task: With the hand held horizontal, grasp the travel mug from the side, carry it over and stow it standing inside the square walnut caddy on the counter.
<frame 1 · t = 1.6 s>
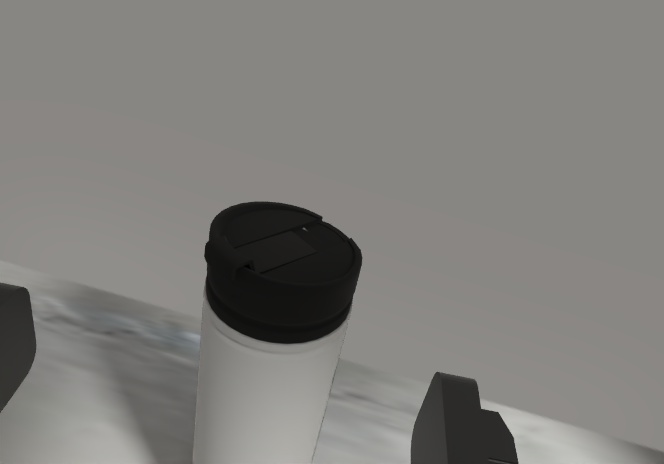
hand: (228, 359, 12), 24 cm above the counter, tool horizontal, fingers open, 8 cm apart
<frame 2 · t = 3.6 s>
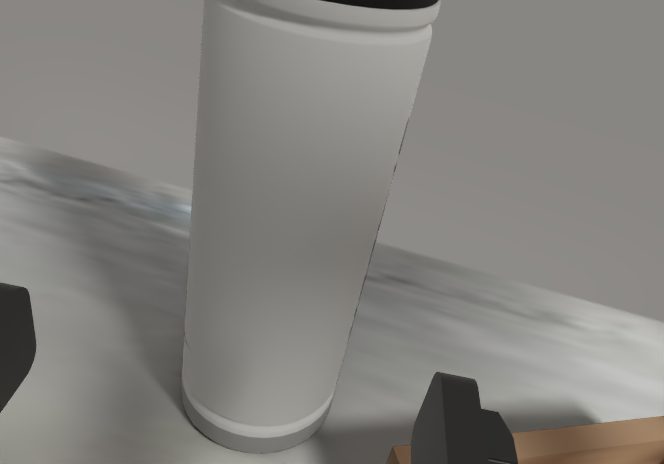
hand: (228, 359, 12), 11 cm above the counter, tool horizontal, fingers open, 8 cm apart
travel mug: (253, 397, 25), on the counter
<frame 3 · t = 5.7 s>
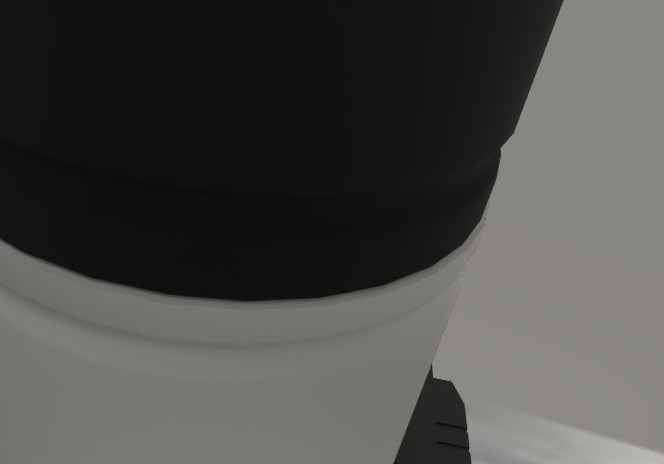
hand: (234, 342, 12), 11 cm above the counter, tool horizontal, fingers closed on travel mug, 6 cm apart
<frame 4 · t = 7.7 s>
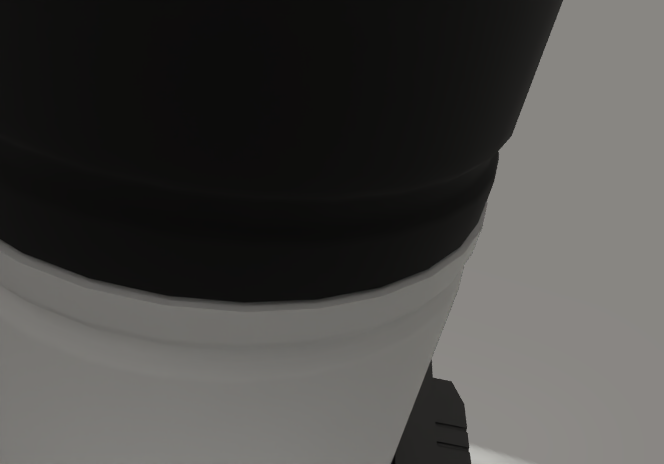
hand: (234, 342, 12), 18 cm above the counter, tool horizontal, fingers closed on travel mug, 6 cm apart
when the fingers open (13 cm above the counter, at t = 9.6 s): travel mug stays where it is, resting on walnut caddy.
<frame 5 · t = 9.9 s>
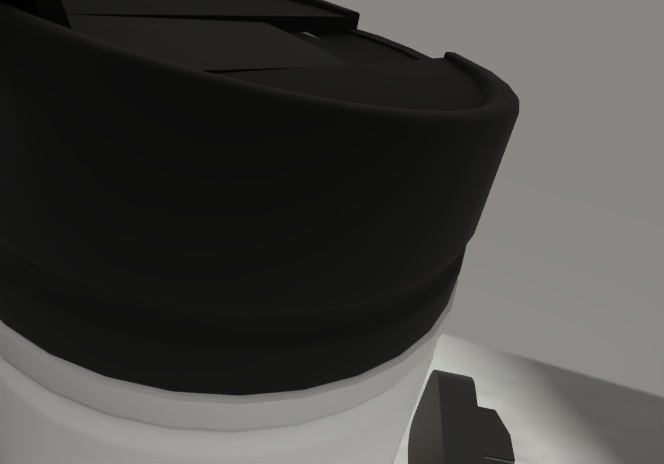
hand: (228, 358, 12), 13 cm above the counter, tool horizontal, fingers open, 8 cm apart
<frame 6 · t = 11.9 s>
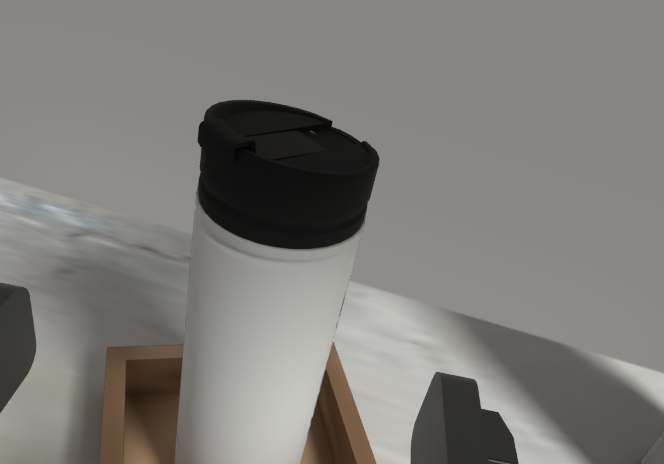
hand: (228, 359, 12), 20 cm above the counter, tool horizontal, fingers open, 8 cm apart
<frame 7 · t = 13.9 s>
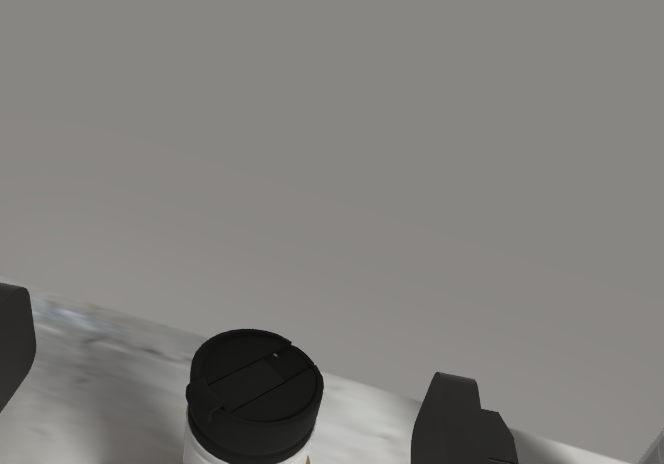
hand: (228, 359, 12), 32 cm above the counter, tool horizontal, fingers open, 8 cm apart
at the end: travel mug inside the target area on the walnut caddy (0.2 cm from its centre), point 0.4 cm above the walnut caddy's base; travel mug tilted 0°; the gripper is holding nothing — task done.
